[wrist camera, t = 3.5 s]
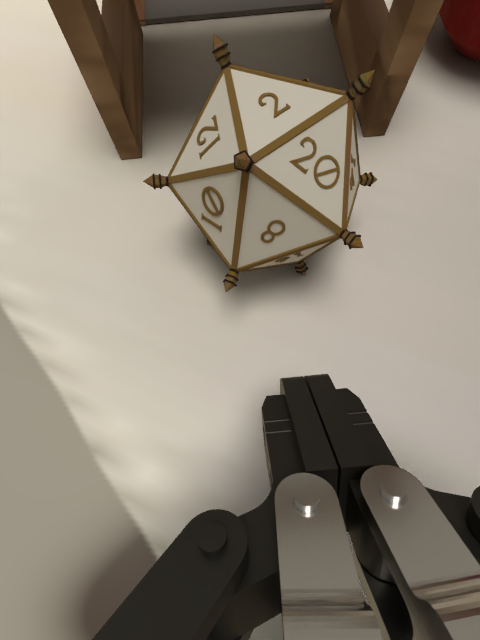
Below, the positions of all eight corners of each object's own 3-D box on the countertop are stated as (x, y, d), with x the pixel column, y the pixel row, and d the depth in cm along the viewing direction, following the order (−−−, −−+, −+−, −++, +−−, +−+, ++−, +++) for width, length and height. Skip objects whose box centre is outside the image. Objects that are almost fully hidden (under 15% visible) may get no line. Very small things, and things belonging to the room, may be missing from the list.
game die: (288, 253, 21) (452, 132, 14) (242, 357, 16) (466, 250, 9) (177, 147, 19) (305, -69, 11) (79, 229, 14) (200, -73, 6)
